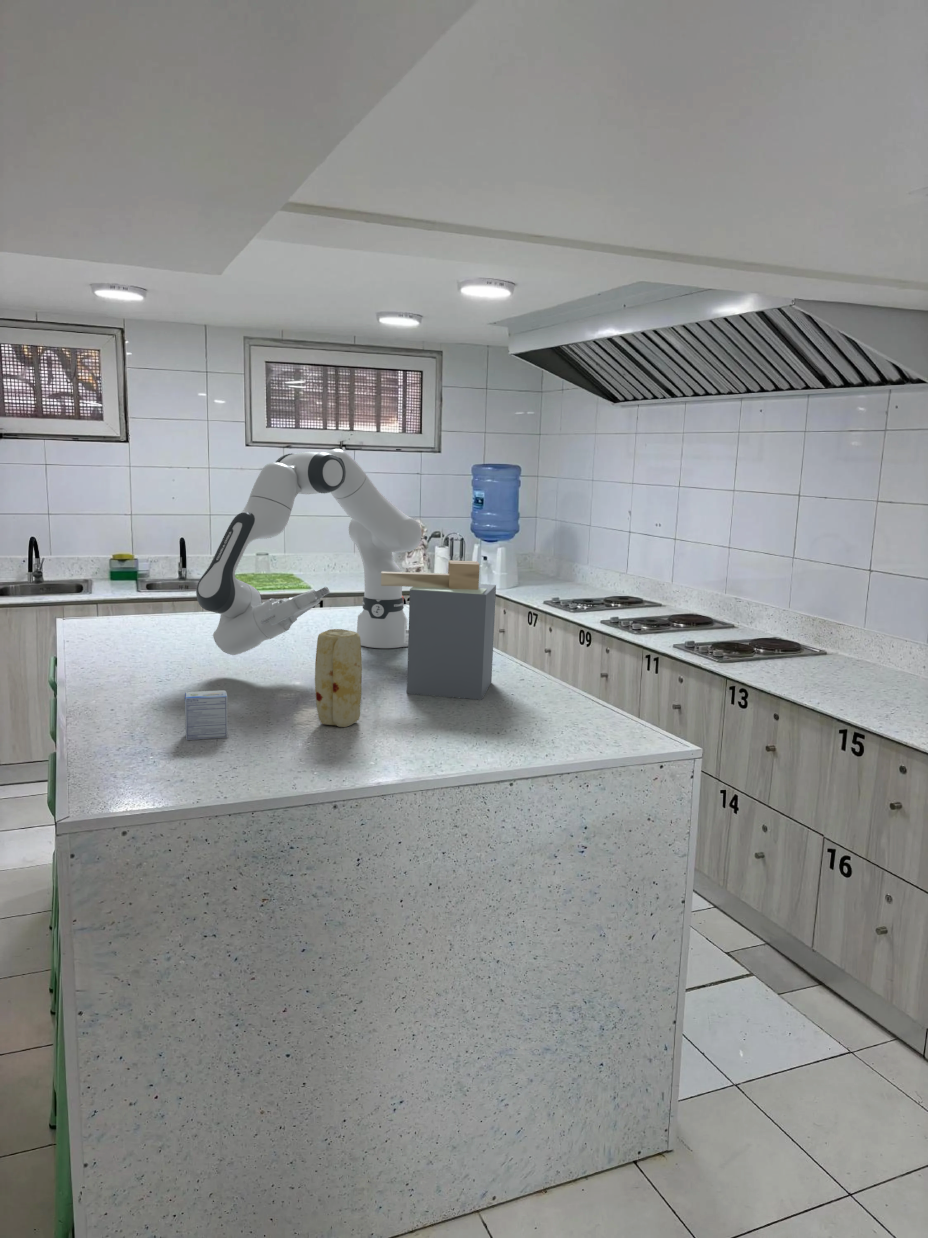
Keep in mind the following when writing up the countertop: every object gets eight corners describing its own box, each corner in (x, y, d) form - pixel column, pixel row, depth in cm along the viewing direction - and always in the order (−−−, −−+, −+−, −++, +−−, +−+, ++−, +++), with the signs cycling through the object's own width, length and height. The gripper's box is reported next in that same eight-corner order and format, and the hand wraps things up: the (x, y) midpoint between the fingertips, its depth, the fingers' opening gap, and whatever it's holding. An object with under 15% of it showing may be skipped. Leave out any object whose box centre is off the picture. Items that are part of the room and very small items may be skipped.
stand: (422, 676, 226) (425, 579, 222) (491, 682, 223) (496, 584, 219) (406, 693, 210) (409, 588, 205) (481, 699, 207) (486, 593, 202)
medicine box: (226, 731, 176) (226, 689, 174) (228, 738, 172) (227, 695, 170) (185, 734, 173) (184, 691, 172) (185, 741, 169) (185, 697, 168)
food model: (356, 718, 189) (358, 626, 185) (365, 727, 183) (367, 632, 179) (311, 721, 185) (312, 627, 181) (318, 730, 179) (319, 634, 175)
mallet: (381, 583, 212) (381, 558, 211) (476, 585, 214) (477, 561, 213) (380, 586, 206) (381, 561, 205) (478, 589, 208) (479, 564, 207)
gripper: (251, 612, 206) (300, 586, 203) (283, 599, 226) (328, 575, 223) (264, 636, 206) (313, 610, 203) (294, 621, 226) (340, 597, 223)
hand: (321, 592), depth 213 cm, fingers open, 8 cm apart
